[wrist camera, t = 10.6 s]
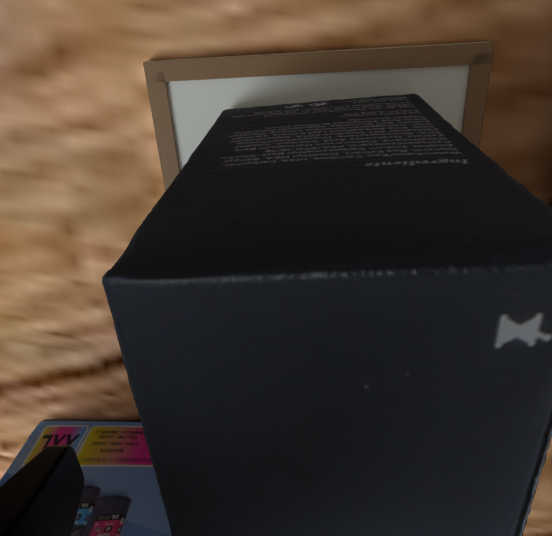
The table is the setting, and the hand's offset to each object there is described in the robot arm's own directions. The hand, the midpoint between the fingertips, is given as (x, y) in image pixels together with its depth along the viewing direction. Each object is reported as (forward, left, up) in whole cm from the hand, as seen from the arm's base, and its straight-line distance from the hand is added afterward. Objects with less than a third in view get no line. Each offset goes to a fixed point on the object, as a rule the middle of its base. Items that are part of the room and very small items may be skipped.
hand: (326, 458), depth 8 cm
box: (0, 0, -8) cm, 8 cm away
